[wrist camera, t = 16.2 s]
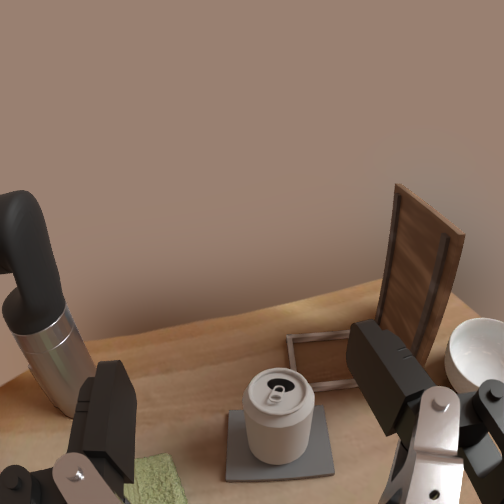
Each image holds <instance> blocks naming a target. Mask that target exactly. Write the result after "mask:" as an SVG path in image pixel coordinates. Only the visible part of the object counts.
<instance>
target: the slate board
mask: <svg viewBox="0 0 504 504" xmlns="http://www.w3.org/2000/svg"><path fill="white" fill-rule="evenodd" d="M334 474H335V470H334V464H333V458H332V452H331V446H330V440H329V434H328V429H327V423H326V418H325V412H324V407H323V405H316V406H314V410H313V416H312V422H311V429H310V435H309V441H308V445H307V448H306V450H305V452H304V453H303V454H302V455H301V456H300V457H299V458H298V459H296V460H294V461H292V462H290V463H287V464H282V465H274V464H268V463H265V462H263V461H261V460H259V459H258V458H257V457H255V456H254V455H253V453H252V452H251V450H250V448H249V443H248V437H247V430H246V423H245V417H244V410H229V422H228V441H227V461H226V482H261V481H282V480H295V479H306V478H315V477H324V476H331V475H334Z"/></svg>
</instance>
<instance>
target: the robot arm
mask: <svg viewBox="0 0 504 504" xmlns="http://www.w3.org/2000/svg"><path fill="white" fill-rule="evenodd" d="M8 273H13V275H14V278H15V281H16V284H17V287H16V288H15V289H14V290H13V291H12V292H11V293H10V294H9V295H8V296H7V298H6V299H5V301H4V303H3V306H2V314H3V317H4V319H5V322H6V323H7V325H8V327H9V329H10V331H11V333H12V335H13V336H14V338H15V340H16V342H17V344H18V345H19V347H20V349H21V351H22V352H23V354H24V356H25V357H26V359H27V360H28V362H29V365H28V368H29V370H30V371H31V373H32V374H33V376H34V377H35V379H36V380H37V382H38V383H39V385H40V386H41V388H42V389H43V391H44V392H45V394H46V395H47V397H48V398H49V399H50V401H51V402H52V403H53V405H54V406H55V407H58V408H60V410H61V411H62V412H63V413H64V414H65V415H66V416H68V417H70V418H73V423H72V428H71V434H70V439H69V445H68V450H67V453H66V454H65V455H63V456H61V457H60V458H59V459H58V460H57V461H56V462H55V464H54V467H52V468H49V469H44V470H40V471H35V472H29V471H27V470H26V469H25V468H24V467H22V466H20V465H11V466H8V467H6V468H5V469H4V470H3V471H2V472H1V474H0V504H132V503H131V502H130V501H129V500H128V498H127V497H126V496H125V495H124V484H134V456H135V427H136V409H137V400H136V394H135V390H134V387H133V385H132V383H131V381H130V379H129V377H128V375H127V372H126V370H125V368H124V366H123V364H122V362H121V361H120V360H114V361H100V362H99V363H98V365H97V368H96V366H95V364H94V362H93V360H92V358H91V356H90V354H89V352H88V350H87V348H86V346H85V344H84V342H83V340H82V338H81V336H80V333H79V331H78V329H77V327H76V325H75V322H74V320H73V318H72V315H71V314H70V311H69V308H68V306H67V303H66V301H65V299H64V296H63V293H62V289H61V283H60V277H59V272H58V269H57V265H56V262H55V259H54V255H53V252H52V248H51V244H50V240H49V236H48V231H47V227H46V223H45V220H44V216H43V213H42V210H41V208H40V206H39V204H38V202H37V200H36V199H35V197H34V196H33V195H32V194H31V193H29V192H28V191H24V190H20V191H13V192H9V193H6V194H2V195H0V274H8ZM346 362H347V366H348V368H349V370H350V372H351V374H352V376H353V378H354V379H355V381H356V383H357V385H358V386H359V388H360V390H361V392H362V394H363V395H364V397H365V399H366V401H367V403H368V404H369V406H370V408H371V410H372V412H373V413H374V415H375V417H376V419H377V421H378V423H379V424H380V426H381V428H382V430H383V432H384V433H385V435H386V437H387V436H389V435H392V434H394V433H397V434H398V436H399V438H400V439H399V440H398V444H397V448H396V452H395V456H394V460H393V464H392V468H391V471H390V475H389V479H388V482H387V485H386V488H385V490H384V492H383V494H382V496H381V498H380V500H379V503H378V504H458V501H459V495H460V488H461V481H462V474H463V468H464V470H465V471H466V473H467V475H468V477H469V479H470V481H471V483H472V485H473V487H474V489H475V491H476V493H477V495H478V497H479V499H480V501H481V503H482V504H504V383H503V382H501V381H499V380H495V379H489V380H486V381H484V382H483V383H482V384H481V385H480V387H479V389H478V390H477V391H474V392H468V393H460V394H456V393H455V392H454V391H452V390H451V389H449V388H447V387H443V386H436V385H435V383H434V382H433V381H432V379H431V378H430V377H429V375H428V374H427V373H426V371H425V370H424V369H423V367H422V366H421V365H420V363H419V362H418V361H417V360H416V358H415V357H414V356H412V353H411V352H410V350H409V349H408V348H406V345H405V344H404V343H403V341H402V340H401V339H400V338H399V337H398V336H397V335H395V334H394V333H392V332H391V331H389V330H387V329H386V330H383V331H382V330H381V328H380V327H379V326H378V324H377V323H376V322H375V321H374V320H373V319H369V320H365V321H361V322H357V323H353V324H352V325H351V328H350V334H349V340H348V345H347V351H346ZM488 432H490V434H491V436H492V437H493V439H494V440H495V442H496V444H497V445H498V447H499V449H500V450H501V453H502V456H501V454H500V453H499V451H498V449H497V448H496V446H495V444H494V443H493V441H492V439H491V438H490V436H489V435H488Z"/></svg>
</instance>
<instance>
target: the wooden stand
mask: <svg viewBox="0 0 504 504" xmlns="http://www.w3.org/2000/svg"><path fill="white" fill-rule="evenodd" d="M464 239H465V233H464V232H462V231H461V230H460V229H459V228H457V227H456V226H455V225H454V224H453V223H451V222H450V221H449V220H448V219H446V218H445V217H444V216H443V215H442V214H440V213H439V212H438V211H437V210H435V209H434V208H433V207H431V206H430V205H429V204H428V203H426V202H425V201H424V200H422V199H421V198H420V197H418V196H417V195H416V194H414V193H413V192H412V191H410V190H409V189H407V188H406V187H405V186H403V185H402V184H395V190H394V201H393V210H392V219H391V227H390V235H389V242H388V250H387V256H386V262H385V269H384V275H383V280H382V286H381V291H380V297H379V302H378V307H377V312H376V317H375V322H376V323H377V324H378V326H379V327H380V328H381V330H382V331H383V330H386V329H387V330H389V331H391V332H392V333H394V334H395V335H397V336H398V337H399V338H400V339H401V340H402V341H403V343H404V344H405V345H406V348H408V349H409V350H410V352H411V353H412V356H414V357H415V358H416V360H417V361H418V362H419V363H420V365H421V366H422V367H423V368H424V365H425V363H426V360H427V358H428V356H429V353H430V350H431V348H432V345H433V343H434V340H435V337H436V335H437V332H438V329H439V326H440V324H441V321H442V318H443V315H444V312H445V309H446V306H447V303H448V299H449V296H450V293H451V290H452V286H453V283H454V279H455V276H456V272H457V268H458V265H459V260H460V257H461V253H462V248H463V244H464ZM349 334H350V330H342V331H331V332H320V333H307V334H293V335H292V334H287V335H286V343H287V346H288V354H289V363H290V369H291V370H294V371H296V372H297V370H296V363H295V356H294V348H293V343H297V342H310V341H322V340H333V339H344V338H349ZM308 384H309V385H310V386H311V387H312V390H313V392H318V391H328V390H337V389H345V388H353V387H359V386H358V385H357V383H356V381H355V379H346V380H337V381H328V382H318V383H308Z"/></svg>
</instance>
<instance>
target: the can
mask: <svg viewBox="0 0 504 504" xmlns="http://www.w3.org/2000/svg"><path fill="white" fill-rule="evenodd" d="M314 397H315V395H314V392H313V390H312V387H311V386H310V385H309V384H308V382H307V380H306V379H305V378H304V377H303V376H302V375H301V374H299V373H298V372H296V371H294V370H291V369H287V368H272V369H267V370H265V371H263V372H260V373H259V374H257V375H256V376H255V377H254V378H253V379H252V380H251V382H250V383H249V385H248V386H247V388H246V389H245V391H244V394H243V398H242V403H243V410H244V417H245V423H246V430H247V437H248V443H249V448H250V450H251V452H252V453H253V455H254V456H255V457H257V458H258V459H259V460H261V461H263V462H265V463H268V464H274V465H282V464H287V463H290V462H292V461H294V460H296V459H298V458H299V457H300V456H301V455H302V454H303V453H304V452H305V450H306V448H307V445H308V441H309V435H310V429H311V422H312V416H313V410H314Z"/></svg>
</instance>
